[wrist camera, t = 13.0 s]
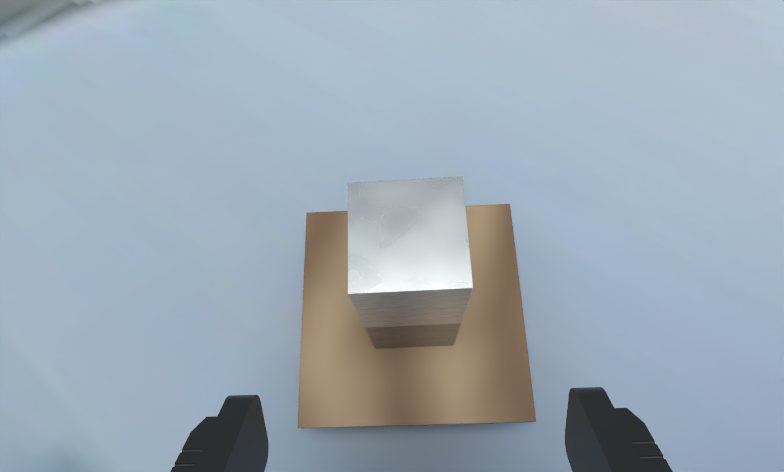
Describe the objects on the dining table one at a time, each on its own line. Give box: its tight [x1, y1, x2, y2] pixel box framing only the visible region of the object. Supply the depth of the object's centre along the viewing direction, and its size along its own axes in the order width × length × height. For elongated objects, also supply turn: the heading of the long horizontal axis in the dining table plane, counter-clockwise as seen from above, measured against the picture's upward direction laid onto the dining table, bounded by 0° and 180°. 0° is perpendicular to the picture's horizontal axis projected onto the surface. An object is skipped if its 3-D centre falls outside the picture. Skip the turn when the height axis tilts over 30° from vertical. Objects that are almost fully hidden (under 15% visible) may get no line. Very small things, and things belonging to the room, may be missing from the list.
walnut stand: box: [298, 204, 536, 428], centre depth 32 cm, size 13×13×4 cm
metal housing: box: [348, 177, 473, 349], centre depth 25 cm, size 4×4×12 cm
